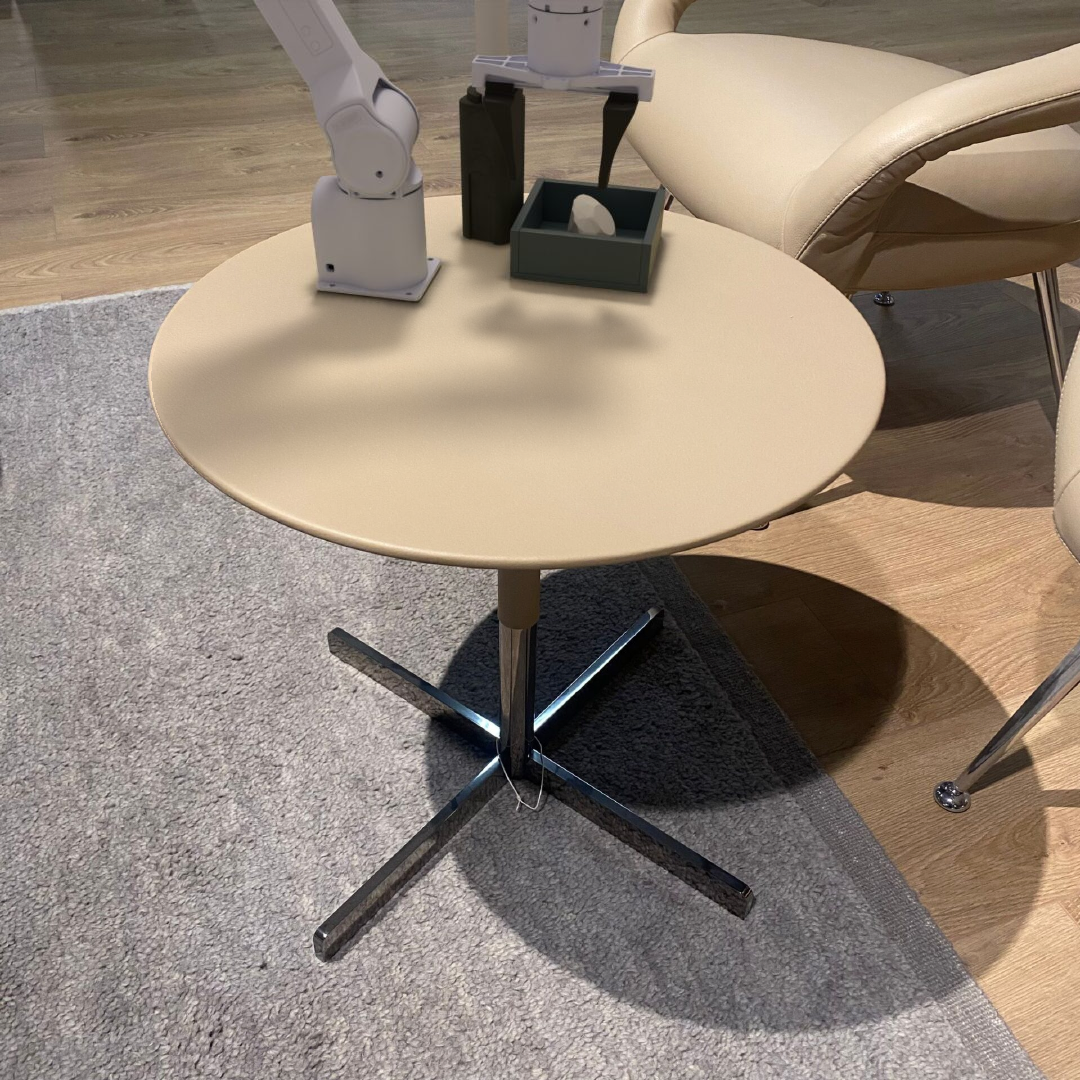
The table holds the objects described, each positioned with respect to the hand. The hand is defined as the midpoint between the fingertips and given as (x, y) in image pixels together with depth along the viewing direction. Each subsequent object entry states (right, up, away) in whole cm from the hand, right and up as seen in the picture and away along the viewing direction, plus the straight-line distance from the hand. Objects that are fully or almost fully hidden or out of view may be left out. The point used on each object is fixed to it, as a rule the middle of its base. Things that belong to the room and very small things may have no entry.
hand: (558, 180), depth 87 cm
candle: (-6, 0, +14) cm, 15 cm away
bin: (+3, -3, +10) cm, 11 cm away
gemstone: (+3, -3, +10) cm, 11 cm away
